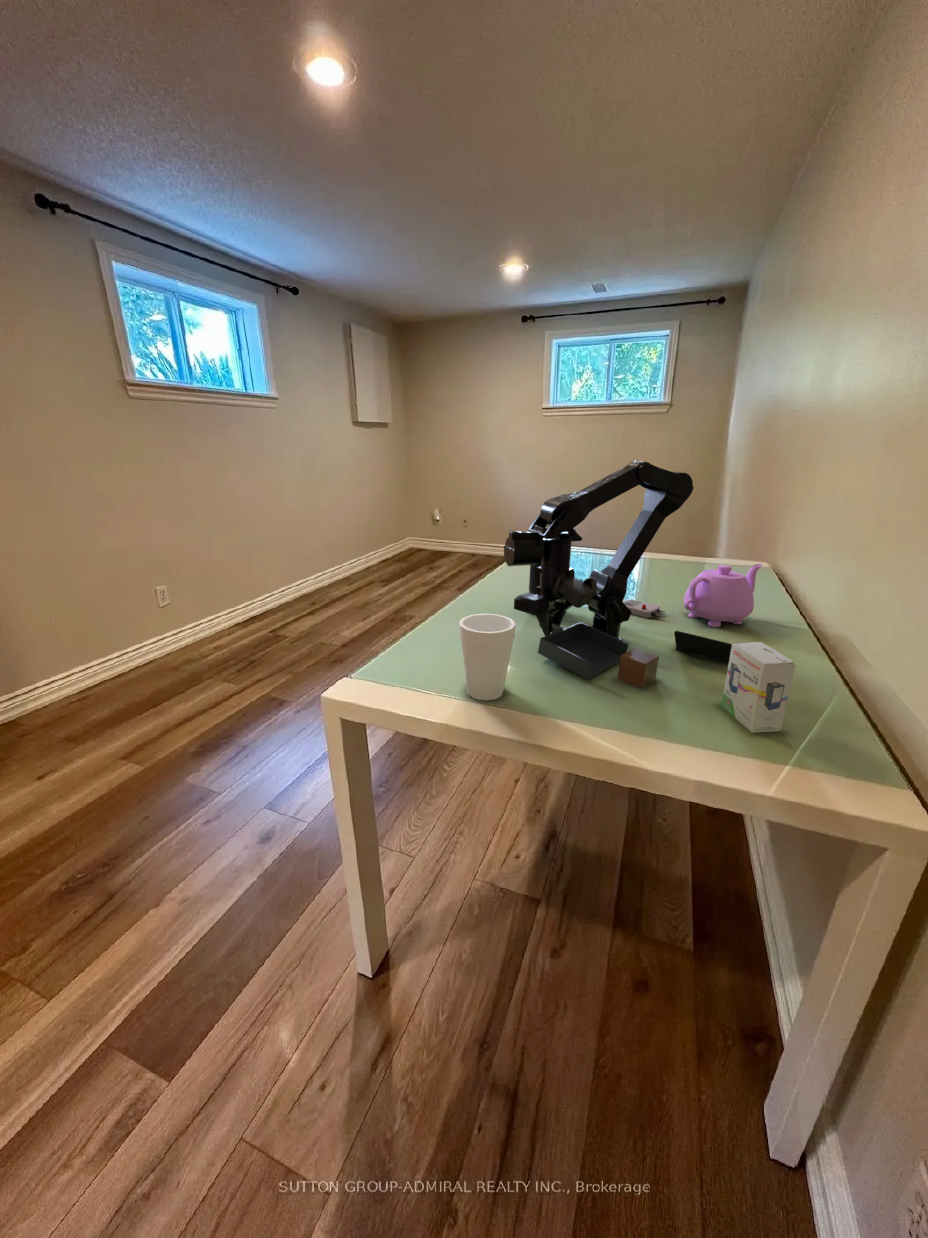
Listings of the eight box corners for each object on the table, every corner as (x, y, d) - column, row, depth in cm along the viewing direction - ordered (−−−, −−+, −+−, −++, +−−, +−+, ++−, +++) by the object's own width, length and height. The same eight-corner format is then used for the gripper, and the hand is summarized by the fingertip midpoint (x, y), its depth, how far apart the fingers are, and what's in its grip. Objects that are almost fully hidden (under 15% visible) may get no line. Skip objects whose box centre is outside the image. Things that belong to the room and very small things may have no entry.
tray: (559, 626, 111) (562, 611, 109) (626, 658, 100) (630, 642, 98) (518, 642, 102) (521, 626, 100) (587, 680, 91) (591, 662, 89)
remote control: (618, 602, 136) (619, 591, 135) (674, 616, 125) (676, 605, 124) (606, 607, 131) (607, 596, 130) (662, 622, 121) (664, 611, 120)
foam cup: (457, 679, 91) (458, 613, 86) (507, 678, 91) (510, 613, 87) (460, 705, 82) (461, 633, 78) (515, 704, 83) (519, 632, 78)
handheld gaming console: (739, 644, 104) (738, 617, 96) (736, 674, 100) (735, 648, 93) (680, 640, 110) (675, 614, 103) (675, 668, 106) (670, 643, 99)
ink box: (781, 732, 75) (800, 663, 71) (749, 734, 75) (766, 664, 71) (746, 704, 83) (761, 640, 79) (717, 705, 83) (731, 641, 79)
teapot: (726, 605, 134) (737, 555, 129) (777, 624, 120) (791, 570, 116) (661, 613, 127) (669, 561, 123) (706, 634, 114) (717, 576, 109)
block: (659, 656, 90) (655, 680, 91) (634, 648, 93) (630, 671, 95) (646, 664, 86) (642, 689, 88) (620, 655, 90) (617, 679, 92)
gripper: (561, 578, 87) (555, 659, 92) (615, 562, 99) (607, 634, 105) (513, 567, 95) (510, 642, 100) (569, 554, 107) (564, 621, 112)
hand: (550, 635), depth 104 cm, fingers closed on tray, 2 cm apart
